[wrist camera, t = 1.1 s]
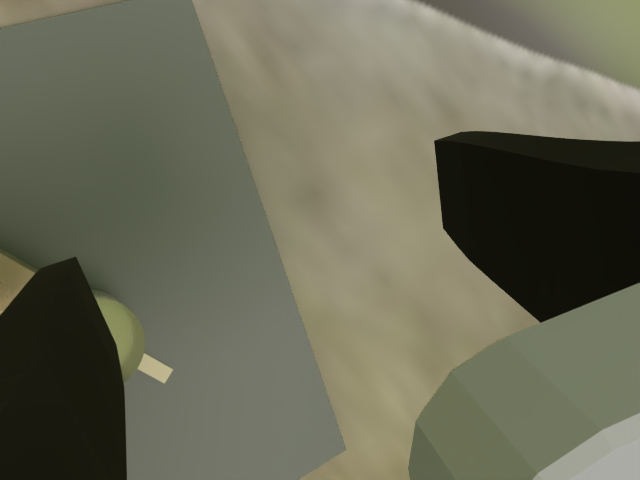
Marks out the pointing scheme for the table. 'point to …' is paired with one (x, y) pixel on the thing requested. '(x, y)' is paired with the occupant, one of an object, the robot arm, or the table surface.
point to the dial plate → (162, 237)
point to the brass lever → (12, 275)
